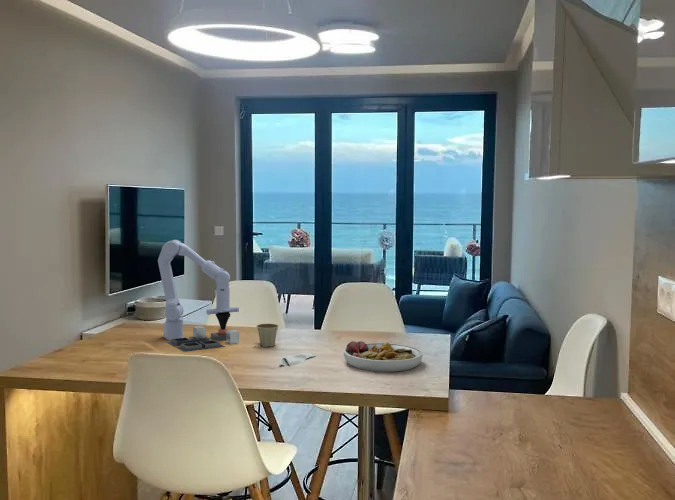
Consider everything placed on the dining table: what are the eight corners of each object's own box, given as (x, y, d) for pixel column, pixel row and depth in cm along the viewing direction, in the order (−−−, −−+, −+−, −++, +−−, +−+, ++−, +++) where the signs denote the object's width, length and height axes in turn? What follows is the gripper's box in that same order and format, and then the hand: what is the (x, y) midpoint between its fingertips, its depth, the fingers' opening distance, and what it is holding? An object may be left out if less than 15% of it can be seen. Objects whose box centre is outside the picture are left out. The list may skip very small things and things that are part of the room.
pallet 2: (175, 349, 259) (175, 343, 259) (215, 344, 269) (215, 338, 269) (184, 354, 251) (184, 348, 251) (225, 349, 261) (225, 343, 261)
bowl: (426, 358, 252) (427, 338, 251) (415, 377, 223) (416, 355, 222) (354, 352, 260) (354, 333, 259) (334, 370, 231) (334, 349, 230)
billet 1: (193, 340, 272) (193, 326, 271) (201, 339, 274) (201, 326, 274) (196, 342, 269) (196, 328, 268) (205, 341, 271) (205, 327, 270)
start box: (210, 339, 279) (210, 333, 279) (227, 337, 283) (227, 331, 283) (218, 343, 272) (218, 336, 272) (235, 341, 277) (235, 334, 277)
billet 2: (226, 344, 270) (226, 330, 270) (234, 343, 272) (234, 329, 272) (230, 346, 267) (230, 332, 266) (238, 345, 269) (239, 331, 269)
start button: (216, 334, 278) (216, 328, 278) (225, 333, 280) (225, 328, 280) (220, 336, 275) (220, 330, 275) (228, 335, 277) (229, 329, 277)
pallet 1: (165, 344, 268) (165, 338, 268) (205, 339, 278) (205, 334, 278) (174, 349, 260) (174, 343, 260) (214, 344, 270) (214, 338, 270)
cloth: (306, 353, 259) (306, 347, 259) (330, 358, 250) (330, 352, 250) (258, 364, 240) (258, 358, 239) (283, 370, 231) (283, 364, 230)
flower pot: (277, 348, 264) (277, 327, 264) (254, 347, 264) (254, 327, 264) (279, 343, 274) (279, 323, 273) (258, 343, 274) (258, 323, 273)
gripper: (211, 301, 269) (211, 332, 270) (241, 298, 277) (241, 329, 278) (204, 299, 275) (204, 329, 276) (234, 296, 283) (234, 326, 284)
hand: (222, 329), depth 277 cm, fingers closed, pressing on start button
